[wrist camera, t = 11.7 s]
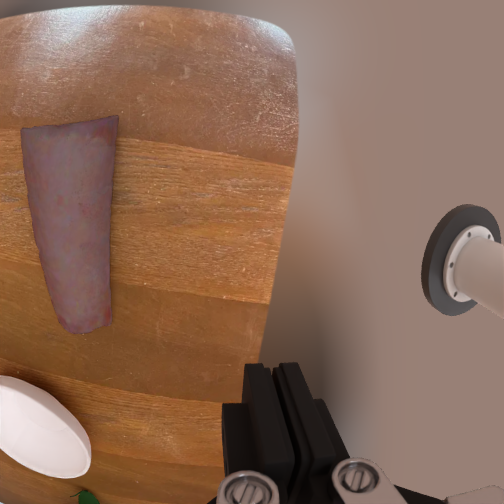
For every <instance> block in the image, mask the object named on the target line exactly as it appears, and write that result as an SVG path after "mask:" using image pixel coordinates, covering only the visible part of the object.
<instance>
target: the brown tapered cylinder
mask: <svg viewBox="0 0 504 504" xmlns="http://www.w3.org/2000/svg"><path fill="white" fill-rule="evenodd" d="M118 120H119V116H118V115H115V116H114V115H113V116H109V117H106V118H100V119H97V120H91V121H86V122H78V123H72V124H63V125H45V126H39V127H36V126H34V127H32V128H22V129H21V147H22V153H23V166H24V172H25V180H26V184H27V189H28V195H27V196H28V202H29V207H30V212H31V217H32V220H33V221H32V225H33V231H34V237H35V241H36V245H37V247H38V249H39V258H40V262H41V265H42V268H43V271H44V274H45V275H44V276H45V280H46V284H47V287H48V291H49V294H50V296H51V301H52V304H53V307H54V309H55V312H56V314H57V316H58V321H59V323H60V324H61V325H62V326H63V327H64V328H65V329H66V330H67V331H68V332H70V333H73V334H78V333H79V334H83V333H90V332H91V331H92V330H94V329H96V328H99V327H102V326H110V325H111V322H112V309H111V289H110V261H109V258H110V239H109V235H110V217H111V210H110V207H111V201H112V188H113V181H112V178H113V173H114V158H115V152H116V145H115V140H116V136H117V126H118Z"/></svg>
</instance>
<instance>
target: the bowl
mask: <svg viewBox="0 0 504 504" xmlns="http://www.w3.org/2000/svg"><path fill="white" fill-rule="evenodd" d="M0 449H2V450H3V451H4V452H5V453H6V454H8V455H9V456H10V457H12V458H13V459H14V460H16V461H17V462H19V463H21V464H22V465H24V466H26V467H28V468H30V469H32V470H34V471H37V472H39V473H42V474H45V475H48V476H52V477H57V478H75V477H78V476H81V475H83V474H84V473H86V472H87V471H88V469H89V467H90V462H91V445H90V441H89V438H88V436H87V434H86V432H85V430H84V428H83V427H82V426H81V424H80V423H79V421H78V420H77V419H76V418H75V417H74V416H73V415H72V414H71V413H70V412H69V411H68V410H67V409H66V408H65V407H64V406H63V405H62V404H60V403H59V401H58V400H56V399H55V398H54V397H53V396H52V395H50V394H49V393H48V392H46V391H44V390H42V389H40V388H38V387H35V386H34V385H31V384H29V383H27V382H25V381H23V380H20V379H17V378H14V377H9V376H3V375H1V376H0Z"/></svg>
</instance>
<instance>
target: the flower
mask: <svg viewBox="0 0 504 504" xmlns="http://www.w3.org/2000/svg"><path fill="white" fill-rule="evenodd" d="M78 494H80V495H79V504H100V503H99V501H98V500H97V499H96V498H95V497H94V495H93V494H92V493H89V492H88V491H87V490H82V491H81V492H79V493H77V494H76V495H78ZM76 495H74V496H76ZM70 497H73V496H70Z"/></svg>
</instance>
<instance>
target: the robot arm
mask: <svg viewBox="0 0 504 504" xmlns="http://www.w3.org/2000/svg"><path fill="white" fill-rule="evenodd" d="M443 283H444V287H445V290H446V292H447V294H448V295H449V296H450V297H451V298H452V299H454V300H456V301H458V302H466V301H468V300H471V299H473V300H474V301H476V302H477V303H479V304H481V305H482V306H484V307H485V308H487V309H489V310H490V311H492V312H493V313H495V314H496V315H498V316H499V317H501V318H502V319H504V245H502V244H500V243H497V242H495V241H494V238H493V236H492V234H491V233H490V231H489V230H488V229H487V228H485V227H483V226H480V225H472V226H469V227H467V228H465V229H464V230H463V231H461V232H460V233H459V235H458V236H457V237H456V238H455V240H454V241H453V243H452V245H451V246H450V248H449V251H448V253H447V256H446V259H445V263H444V269H443ZM222 445H223V458H224V470H225V478H224V479H223V481H222V482H221V483H220V485H219V488H218V493H217V496H216V497H215V498H214V499H212V500H211V501H210V502H208V503H207V504H504V490H503V489H502V488H500V487H499V486H495V485H493V486H487V487H484V488H480V489H477V490H473V491H470V492H466V493H462V494H458V495H454V496H450V497H446V499H445V500H439V499H437V498H434V497H430V496H427V495H423V494H420V493H417V492H414V491H411V490H408V489H405V488H402V487H399V486H396V485H393V484H392V483H391V481H390V480H389V479H388V477H387V476H386V475H385V473H384V472H383V471H382V469H381V468H380V467H379V466H378V465H377V464H376V463H374V462H372V461H370V460H368V459H364V458H350V456H349V454H348V452H347V450H346V448H345V446H344V443H343V441H342V439H341V437H340V435H339V433H338V430H337V428H336V426H335V424H334V422H333V419H332V417H331V415H330V413H329V411H328V409H327V406H326V404H325V402H324V401H323V400H322V399H313V398H312V395H311V393H310V391H309V388H308V386H307V384H306V382H305V379H304V376H303V374H302V372H301V369H300V367H299V365H298V363H296V362H293V363H280V364H279V367H276V368H273V372H272V375H271V371H270V368H264V366H263V364H262V363H258V364H245V367H244V379H243V392H242V403H222Z"/></svg>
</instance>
